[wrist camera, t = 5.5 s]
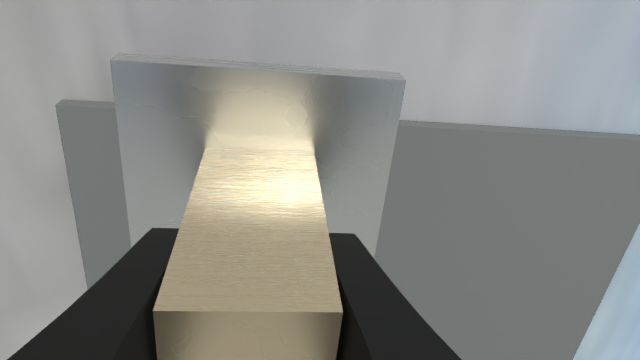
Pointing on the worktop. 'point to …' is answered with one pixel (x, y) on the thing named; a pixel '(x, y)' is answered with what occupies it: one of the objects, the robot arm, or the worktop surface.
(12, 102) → the worktop surface
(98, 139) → the mat
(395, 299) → the robot arm
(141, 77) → the beige blocky piece
